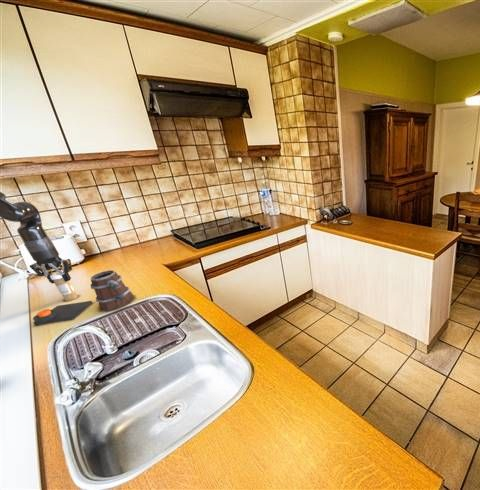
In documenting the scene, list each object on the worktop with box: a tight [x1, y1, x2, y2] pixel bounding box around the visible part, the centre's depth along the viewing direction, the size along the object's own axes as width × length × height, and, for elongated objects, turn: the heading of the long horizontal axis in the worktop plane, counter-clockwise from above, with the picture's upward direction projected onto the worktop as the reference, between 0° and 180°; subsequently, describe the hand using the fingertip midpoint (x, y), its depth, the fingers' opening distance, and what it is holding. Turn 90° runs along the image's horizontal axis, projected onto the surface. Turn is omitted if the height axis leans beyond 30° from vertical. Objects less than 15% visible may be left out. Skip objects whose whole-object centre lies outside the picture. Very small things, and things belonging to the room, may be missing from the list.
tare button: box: [36, 308, 52, 318], centre depth 109 cm, size 4×4×2 cm
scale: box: [32, 300, 93, 326], centre depth 114 cm, size 14×12×3 cm
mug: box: [90, 270, 135, 312], centre depth 116 cm, size 16×12×15 cm
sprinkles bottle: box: [50, 271, 79, 302], centre depth 123 cm, size 5×5×13 cm
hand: (61, 281), depth 122 cm, fingers closed on sprinkles bottle, 4 cm apart
